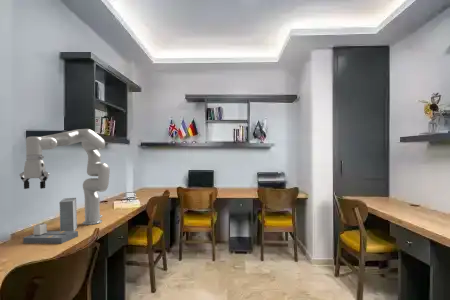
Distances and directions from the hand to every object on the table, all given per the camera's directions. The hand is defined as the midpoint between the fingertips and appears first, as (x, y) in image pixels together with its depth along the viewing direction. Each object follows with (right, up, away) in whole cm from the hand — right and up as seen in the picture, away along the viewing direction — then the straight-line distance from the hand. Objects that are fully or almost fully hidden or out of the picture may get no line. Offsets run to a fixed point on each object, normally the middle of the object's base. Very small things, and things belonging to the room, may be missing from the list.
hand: (34, 188), depth 162 cm
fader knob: (+2, -26, +2) cm, 26 cm away
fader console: (+9, -29, +1) cm, 31 cm away
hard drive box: (+8, -30, +20) cm, 37 cm away
